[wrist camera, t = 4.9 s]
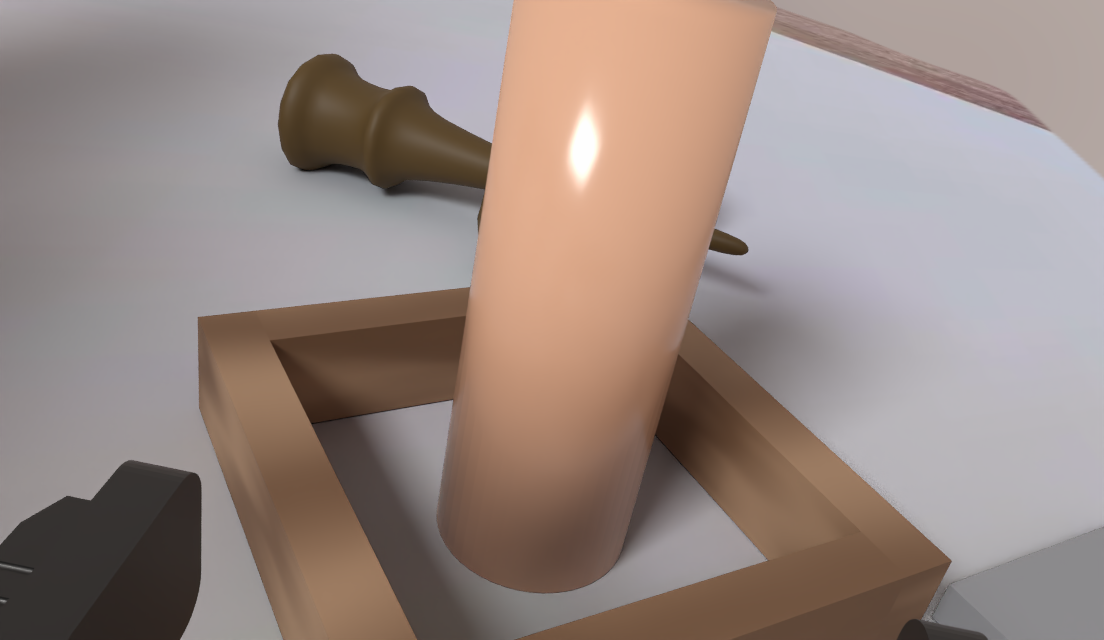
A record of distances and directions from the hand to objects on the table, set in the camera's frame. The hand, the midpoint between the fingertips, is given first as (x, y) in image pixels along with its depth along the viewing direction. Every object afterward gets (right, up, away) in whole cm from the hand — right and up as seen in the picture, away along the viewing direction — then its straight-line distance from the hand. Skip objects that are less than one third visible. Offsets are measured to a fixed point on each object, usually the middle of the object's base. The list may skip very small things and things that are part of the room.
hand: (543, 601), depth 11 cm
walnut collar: (0, -2, +15) cm, 15 cm away
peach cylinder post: (0, -2, +15) cm, 15 cm away
